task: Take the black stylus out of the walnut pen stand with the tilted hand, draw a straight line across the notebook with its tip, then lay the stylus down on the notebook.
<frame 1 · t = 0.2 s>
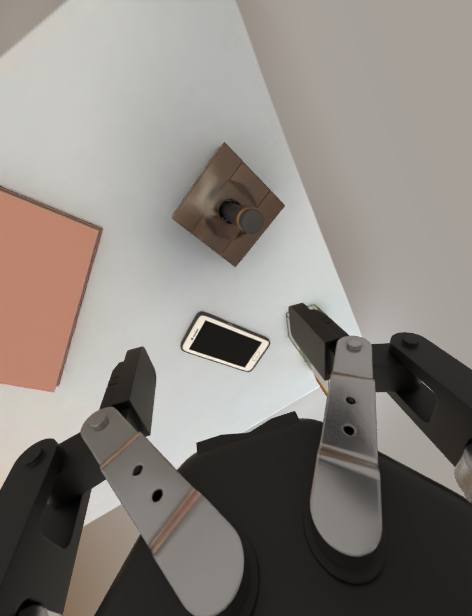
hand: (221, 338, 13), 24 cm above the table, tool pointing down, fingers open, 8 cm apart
stylus: (235, 214, 27), in the pen stand
cell phone: (226, 342, 43), on the table
syrup box: (300, 320, 44), on the table
pen stand: (225, 209, 33), on the table
notebook: (8, 296, 32), on the table
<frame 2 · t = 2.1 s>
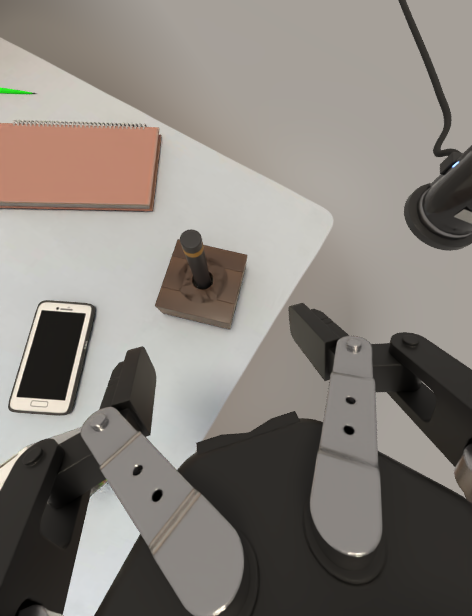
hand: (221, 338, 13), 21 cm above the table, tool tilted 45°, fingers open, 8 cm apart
stylus: (199, 270, 29), in the pen stand
cell phone: (58, 355, 33), on the table
syrup box: (111, 446, 30), on the table
pen stand: (205, 289, 36), on the table
notebook: (78, 169, 41), on the table
green pen: (3, 94, 46), on the table
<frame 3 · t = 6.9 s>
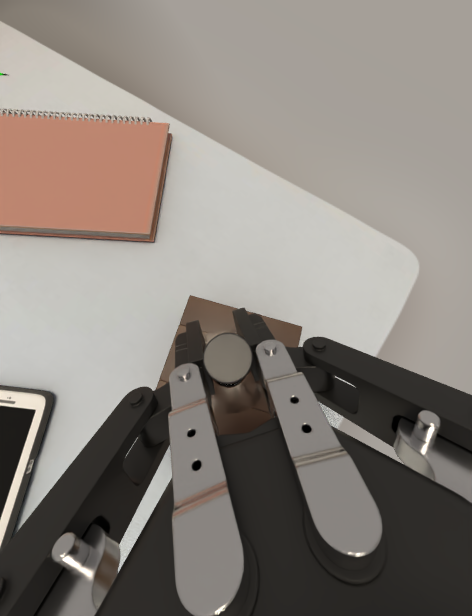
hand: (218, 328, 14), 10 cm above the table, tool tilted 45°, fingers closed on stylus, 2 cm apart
stylus: (228, 366, 16), in the pen stand, touching gripper
pen stand: (229, 370, 23), on the table
notebook: (53, 176, 29), on the table
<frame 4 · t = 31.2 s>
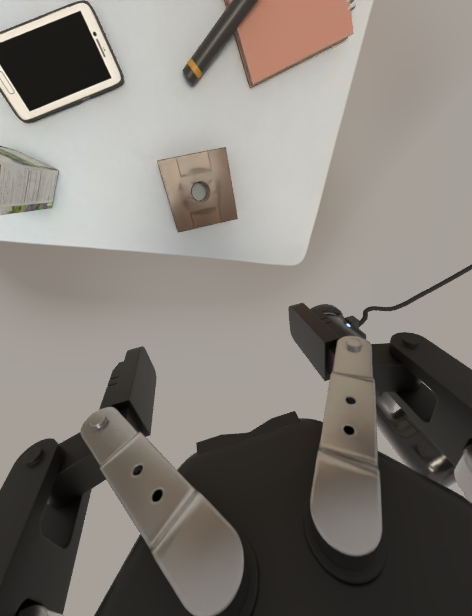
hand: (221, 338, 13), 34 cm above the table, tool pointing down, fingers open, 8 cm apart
stylus: (225, 27, 30), on the table, tilted 104°, touching notebook
cell phone: (56, 68, 30), on the table
syrup box: (34, 179, 35), on the table
pen stand: (198, 191, 40), on the table
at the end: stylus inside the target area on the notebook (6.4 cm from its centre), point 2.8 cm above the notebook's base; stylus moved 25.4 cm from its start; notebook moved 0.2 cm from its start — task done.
